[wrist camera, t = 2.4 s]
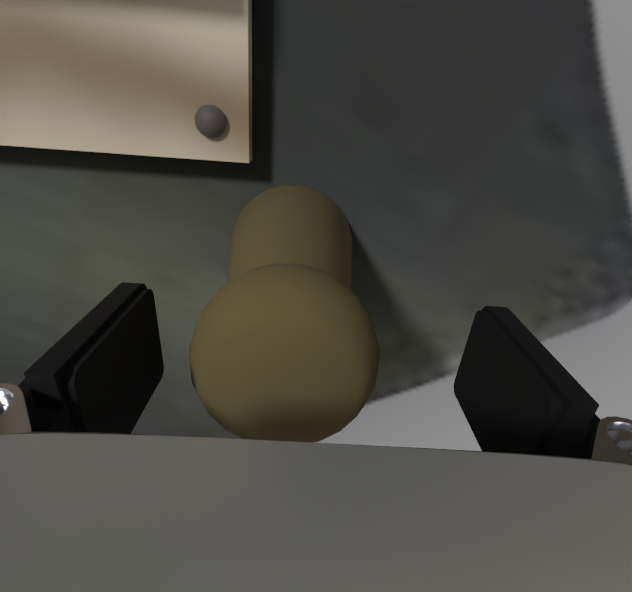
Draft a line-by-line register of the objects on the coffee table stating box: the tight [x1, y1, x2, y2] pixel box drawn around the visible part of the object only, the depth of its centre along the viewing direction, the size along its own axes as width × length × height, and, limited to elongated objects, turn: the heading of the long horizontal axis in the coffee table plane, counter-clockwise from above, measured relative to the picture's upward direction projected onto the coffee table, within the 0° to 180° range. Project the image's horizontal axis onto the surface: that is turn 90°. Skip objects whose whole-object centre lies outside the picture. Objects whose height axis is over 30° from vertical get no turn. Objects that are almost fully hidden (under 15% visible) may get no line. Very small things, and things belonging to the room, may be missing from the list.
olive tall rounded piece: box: [189, 185, 380, 443], centre depth 14 cm, size 6×6×11 cm
